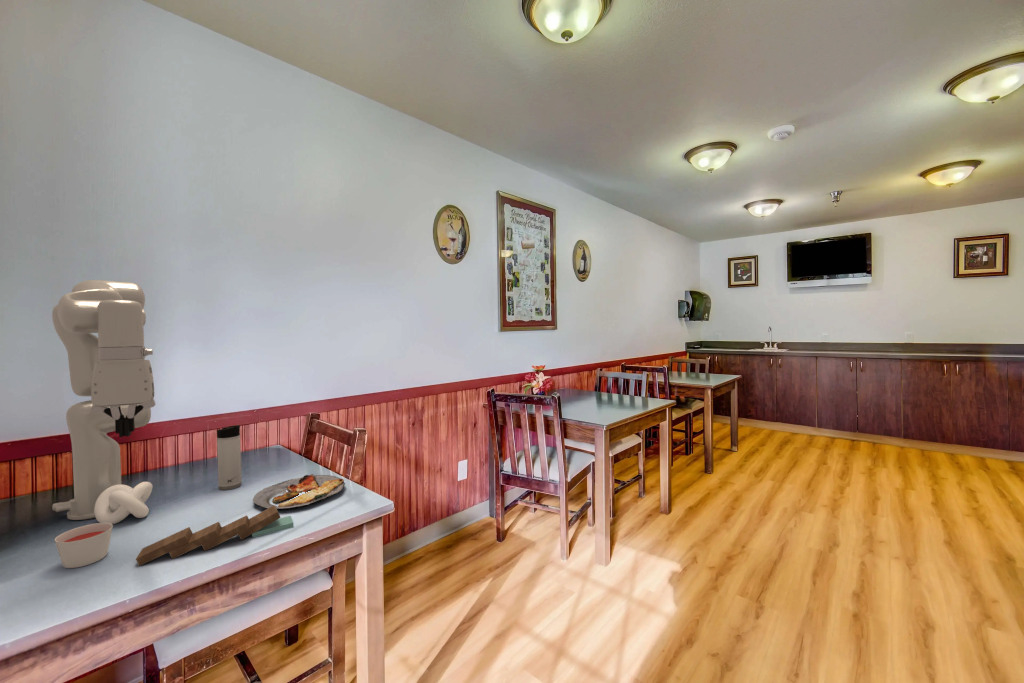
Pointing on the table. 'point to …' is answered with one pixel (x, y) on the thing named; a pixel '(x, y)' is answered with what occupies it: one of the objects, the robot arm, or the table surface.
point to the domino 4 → (261, 521)
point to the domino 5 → (275, 526)
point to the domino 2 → (198, 539)
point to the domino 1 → (164, 546)
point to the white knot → (122, 502)
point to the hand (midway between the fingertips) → (125, 435)
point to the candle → (84, 544)
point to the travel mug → (229, 457)
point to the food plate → (299, 491)
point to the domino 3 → (229, 532)
